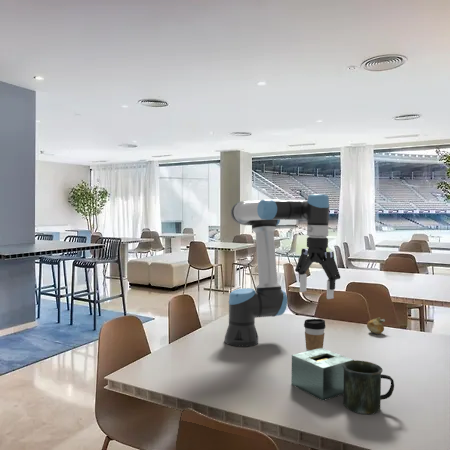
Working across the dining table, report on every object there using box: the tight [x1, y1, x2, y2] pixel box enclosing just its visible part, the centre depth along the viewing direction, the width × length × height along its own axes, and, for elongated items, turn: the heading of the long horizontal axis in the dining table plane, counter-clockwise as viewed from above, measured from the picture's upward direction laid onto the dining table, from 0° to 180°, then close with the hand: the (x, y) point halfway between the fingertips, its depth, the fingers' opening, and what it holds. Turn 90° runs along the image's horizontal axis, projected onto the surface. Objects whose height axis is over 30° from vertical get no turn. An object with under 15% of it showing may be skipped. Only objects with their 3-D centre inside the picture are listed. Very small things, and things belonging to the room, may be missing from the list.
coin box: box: [291, 347, 354, 401], centre depth 132 cm, size 14×14×10 cm
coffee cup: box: [303, 318, 326, 352], centre depth 160 cm, size 8×8×15 cm
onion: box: [366, 316, 386, 335], centre depth 196 cm, size 8×8×8 cm
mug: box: [342, 359, 395, 415], centre depth 118 cm, size 11×15×12 cm
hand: (316, 295), depth 146 cm, fingers open, 13 cm apart
